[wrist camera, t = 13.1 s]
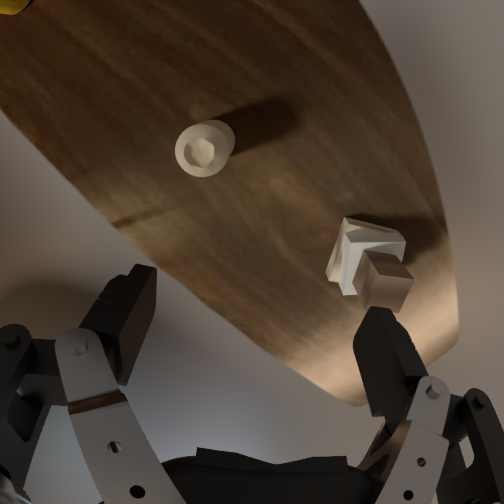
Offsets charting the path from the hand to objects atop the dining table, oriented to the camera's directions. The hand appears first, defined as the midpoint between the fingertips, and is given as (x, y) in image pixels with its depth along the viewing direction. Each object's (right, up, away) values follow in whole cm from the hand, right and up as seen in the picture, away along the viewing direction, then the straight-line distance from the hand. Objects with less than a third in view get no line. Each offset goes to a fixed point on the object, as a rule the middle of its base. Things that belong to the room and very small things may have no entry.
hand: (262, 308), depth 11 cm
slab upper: (+16, +1, +30) cm, 34 cm away
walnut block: (+16, 0, +28) cm, 32 cm away
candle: (-5, +16, +26) cm, 31 cm away
